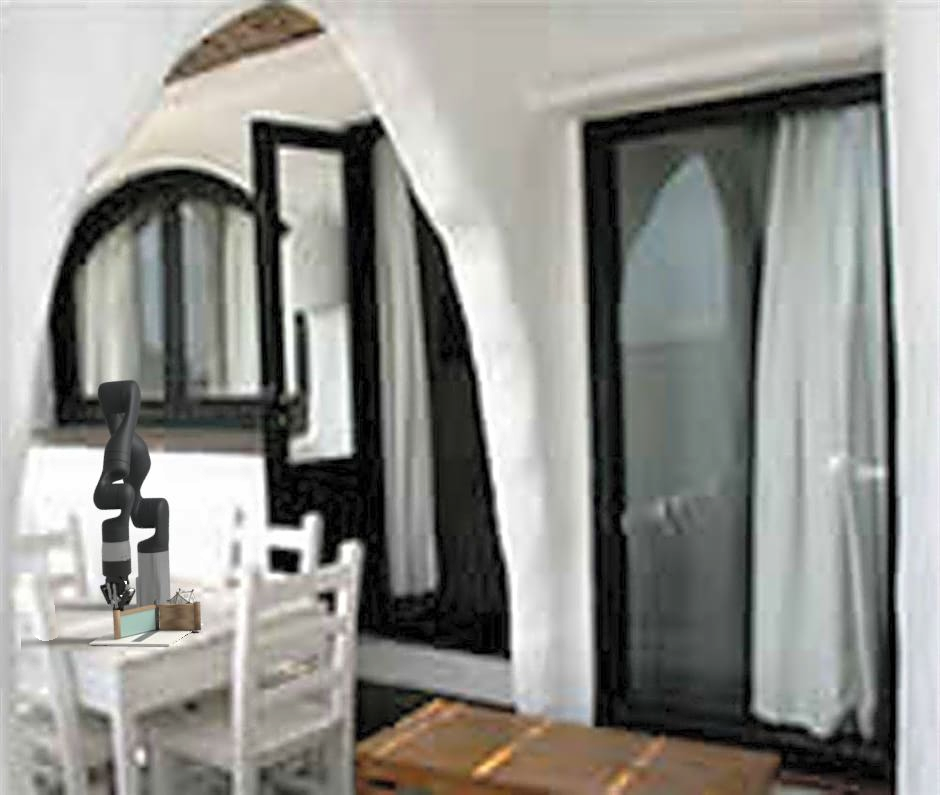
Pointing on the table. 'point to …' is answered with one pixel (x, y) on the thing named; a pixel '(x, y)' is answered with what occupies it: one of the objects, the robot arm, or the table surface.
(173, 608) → the fixed fence section
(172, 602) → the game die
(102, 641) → the board
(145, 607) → the tan and green panel
